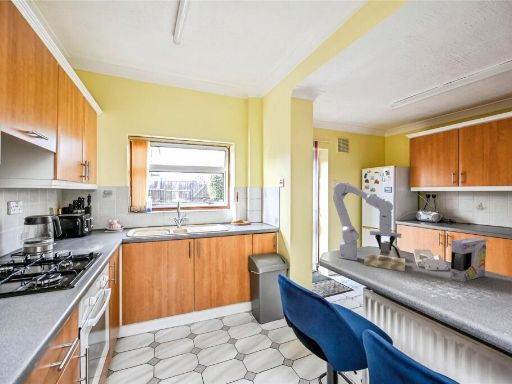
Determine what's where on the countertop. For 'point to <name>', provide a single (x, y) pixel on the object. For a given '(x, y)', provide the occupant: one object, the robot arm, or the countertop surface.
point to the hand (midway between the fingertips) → (385, 249)
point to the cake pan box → (468, 258)
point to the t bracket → (385, 249)
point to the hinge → (395, 251)
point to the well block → (385, 262)
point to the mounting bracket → (429, 260)
